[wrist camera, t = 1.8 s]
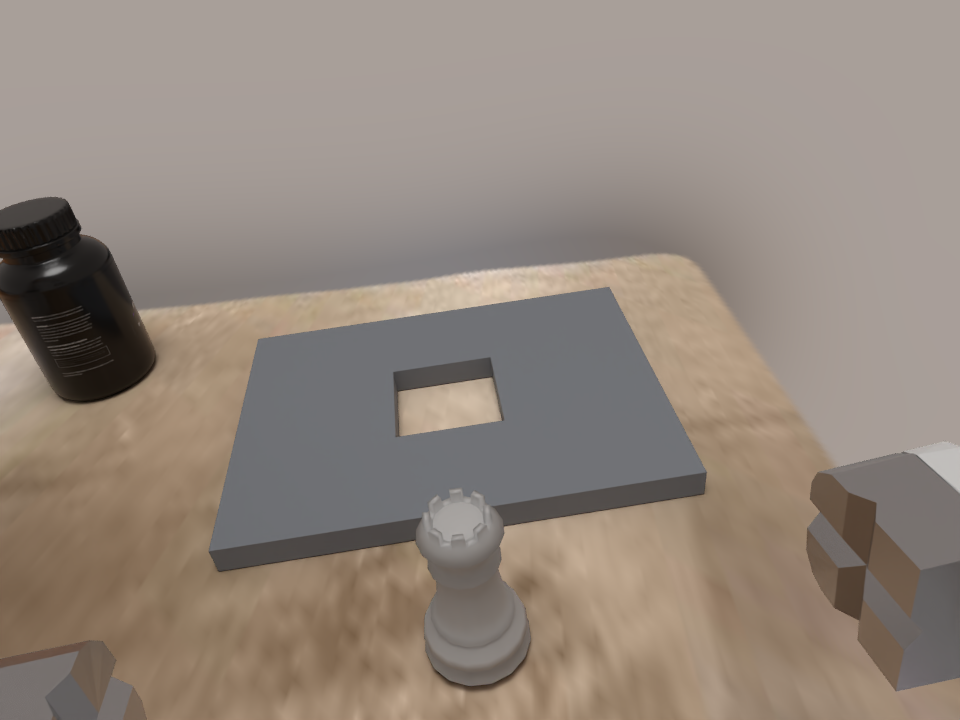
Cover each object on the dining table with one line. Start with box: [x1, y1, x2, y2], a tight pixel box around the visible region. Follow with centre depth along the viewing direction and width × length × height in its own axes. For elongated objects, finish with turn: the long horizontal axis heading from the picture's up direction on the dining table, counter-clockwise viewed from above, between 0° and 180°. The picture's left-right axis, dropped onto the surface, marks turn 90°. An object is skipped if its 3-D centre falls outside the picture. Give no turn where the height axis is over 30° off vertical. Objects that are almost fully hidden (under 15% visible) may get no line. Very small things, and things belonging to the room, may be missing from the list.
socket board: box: [209, 287, 707, 571], centre depth 42 cm, size 24×18×2 cm
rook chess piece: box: [416, 488, 531, 686], centre depth 28 cm, size 4×4×8 cm
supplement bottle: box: [0, 197, 155, 401], centre depth 46 cm, size 7×7×12 cm
